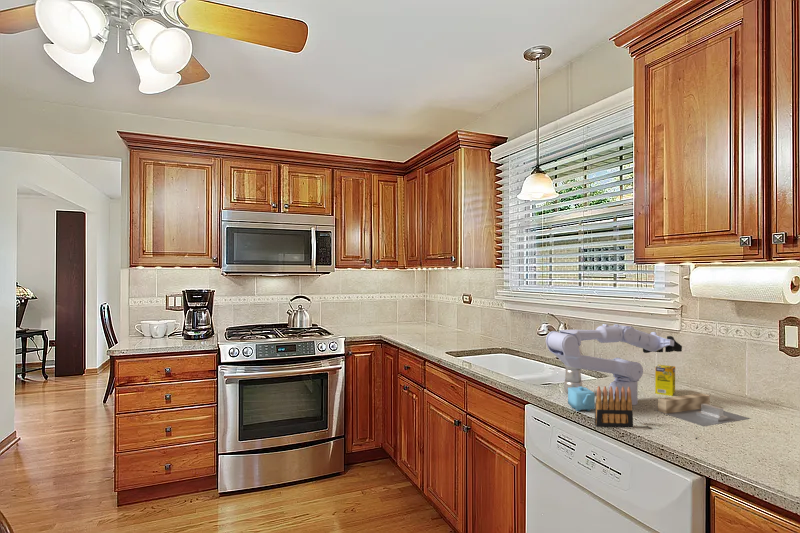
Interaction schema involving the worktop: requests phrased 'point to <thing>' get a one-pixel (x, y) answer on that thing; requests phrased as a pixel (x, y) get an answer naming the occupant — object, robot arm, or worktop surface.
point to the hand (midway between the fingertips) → (671, 349)
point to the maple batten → (682, 403)
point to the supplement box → (665, 380)
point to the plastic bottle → (572, 377)
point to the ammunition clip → (613, 409)
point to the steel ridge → (712, 412)
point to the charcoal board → (694, 418)
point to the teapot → (581, 398)
